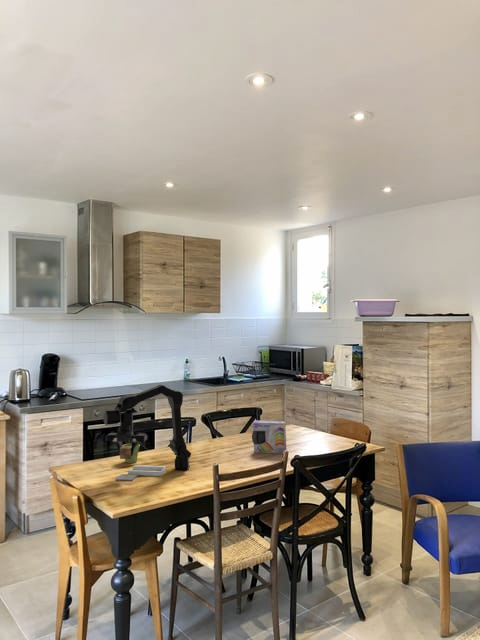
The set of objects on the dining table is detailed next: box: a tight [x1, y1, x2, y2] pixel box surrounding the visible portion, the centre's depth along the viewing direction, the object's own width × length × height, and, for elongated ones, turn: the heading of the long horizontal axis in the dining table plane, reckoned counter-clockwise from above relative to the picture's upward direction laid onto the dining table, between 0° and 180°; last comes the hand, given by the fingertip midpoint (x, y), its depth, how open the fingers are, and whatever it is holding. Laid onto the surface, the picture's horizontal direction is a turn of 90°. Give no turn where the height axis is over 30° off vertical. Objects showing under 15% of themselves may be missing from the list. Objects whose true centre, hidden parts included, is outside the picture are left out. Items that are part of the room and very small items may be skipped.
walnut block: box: [119, 446, 134, 460], centre depth 246 cm, size 5×5×5 cm
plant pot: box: [122, 443, 141, 464], centre depth 275 cm, size 9×9×9 cm
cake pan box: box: [251, 419, 287, 455], centre depth 293 cm, size 19×5×18 cm, turn 73°
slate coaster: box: [115, 473, 139, 482], centre depth 246 cm, size 8×8×1 cm
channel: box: [127, 465, 167, 477], centre depth 255 cm, size 17×9×2 cm, turn 84°
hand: (126, 455), depth 246 cm, fingers closed on walnut block, 5 cm apart
